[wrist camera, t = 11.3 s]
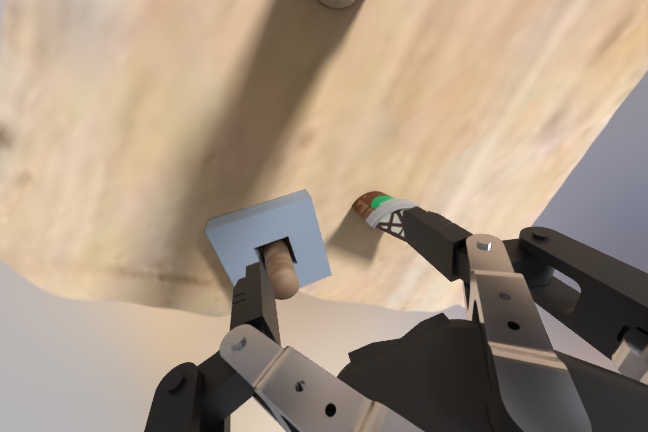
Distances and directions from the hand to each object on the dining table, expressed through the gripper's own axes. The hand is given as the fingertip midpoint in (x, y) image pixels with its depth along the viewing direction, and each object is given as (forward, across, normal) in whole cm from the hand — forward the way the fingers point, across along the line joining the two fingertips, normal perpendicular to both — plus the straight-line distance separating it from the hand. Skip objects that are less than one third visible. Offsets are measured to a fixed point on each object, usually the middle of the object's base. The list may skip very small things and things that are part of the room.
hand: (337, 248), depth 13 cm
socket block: (+27, +6, +15) cm, 31 cm away
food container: (+28, -15, +14) cm, 34 cm away
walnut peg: (+27, +6, +15) cm, 31 cm away
